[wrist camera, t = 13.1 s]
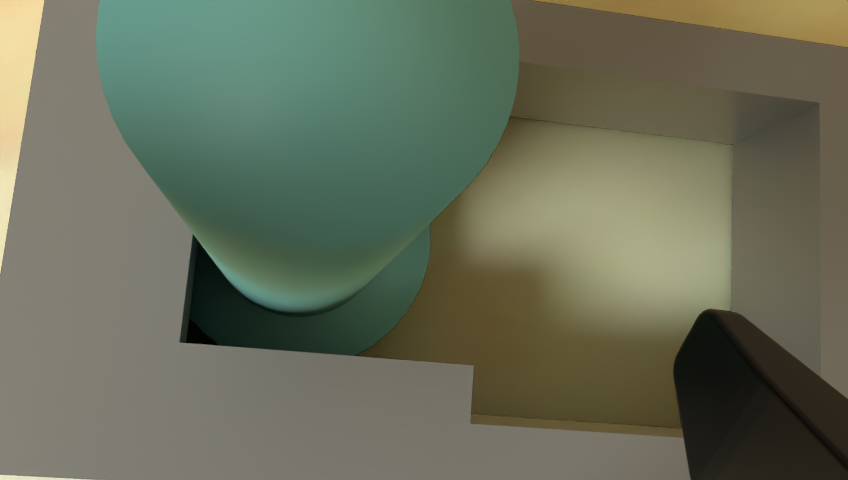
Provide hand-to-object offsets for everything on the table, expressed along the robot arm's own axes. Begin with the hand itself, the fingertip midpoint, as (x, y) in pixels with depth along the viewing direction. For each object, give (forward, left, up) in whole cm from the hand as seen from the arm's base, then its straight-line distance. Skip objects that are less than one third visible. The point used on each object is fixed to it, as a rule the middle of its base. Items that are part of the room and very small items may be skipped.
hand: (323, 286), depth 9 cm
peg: (+1, -2, -11) cm, 12 cm away
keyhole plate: (-2, -4, -11) cm, 12 cm away
